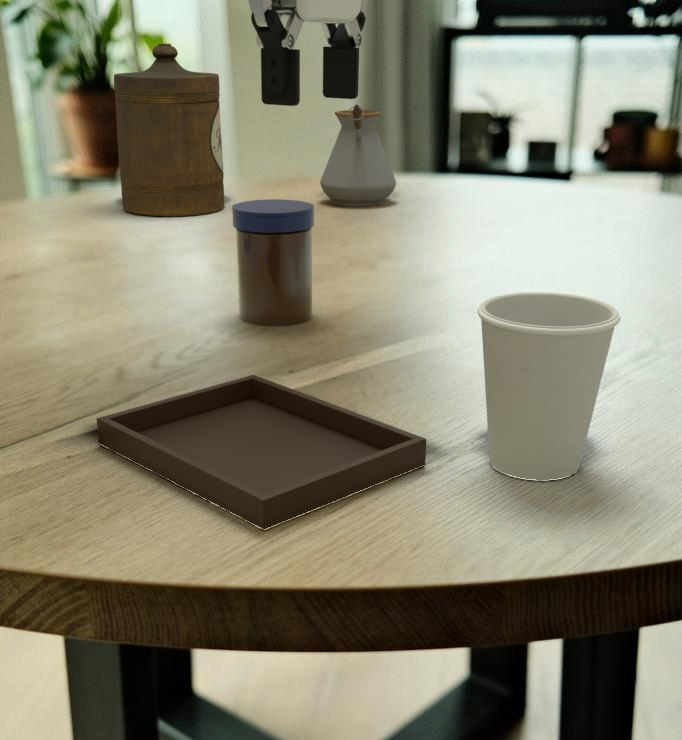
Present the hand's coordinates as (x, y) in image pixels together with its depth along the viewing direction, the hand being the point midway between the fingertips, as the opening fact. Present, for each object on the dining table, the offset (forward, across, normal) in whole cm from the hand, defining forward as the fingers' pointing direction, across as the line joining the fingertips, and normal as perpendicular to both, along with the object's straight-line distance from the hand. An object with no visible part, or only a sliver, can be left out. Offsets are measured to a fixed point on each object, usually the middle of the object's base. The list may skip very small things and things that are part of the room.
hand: (311, 101), depth 84 cm
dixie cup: (+19, +20, +28) cm, 39 cm away
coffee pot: (+19, -59, -26) cm, 68 cm away
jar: (+19, +1, -3) cm, 20 cm away
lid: (+9, +1, -3) cm, 9 cm away
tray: (+19, +27, +12) cm, 35 cm away
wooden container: (+20, -46, -50) cm, 70 cm away
